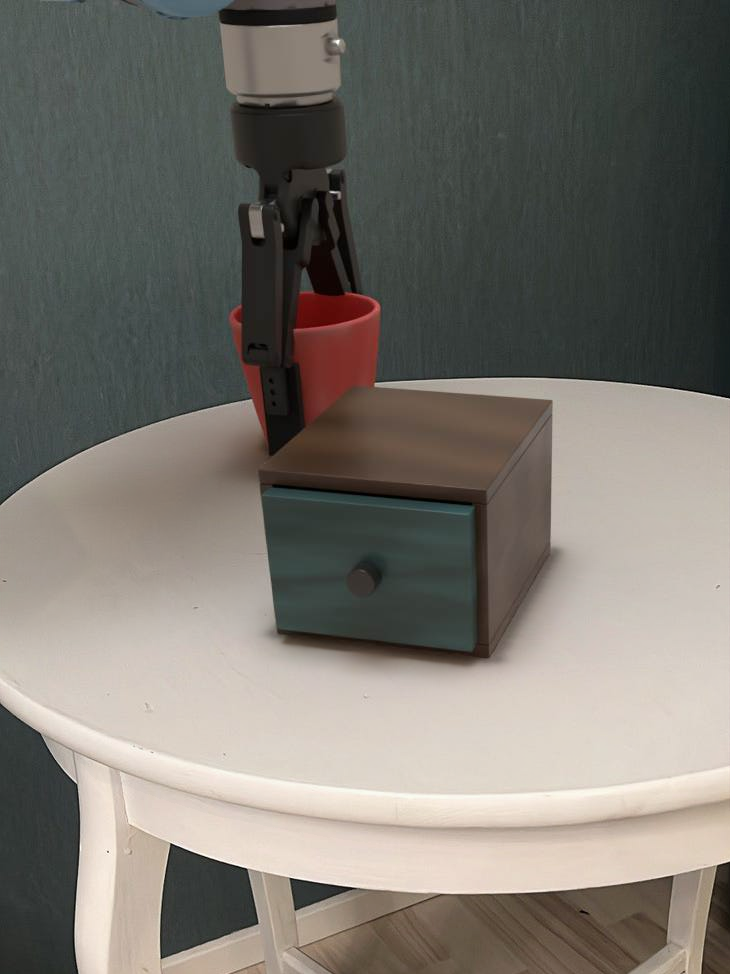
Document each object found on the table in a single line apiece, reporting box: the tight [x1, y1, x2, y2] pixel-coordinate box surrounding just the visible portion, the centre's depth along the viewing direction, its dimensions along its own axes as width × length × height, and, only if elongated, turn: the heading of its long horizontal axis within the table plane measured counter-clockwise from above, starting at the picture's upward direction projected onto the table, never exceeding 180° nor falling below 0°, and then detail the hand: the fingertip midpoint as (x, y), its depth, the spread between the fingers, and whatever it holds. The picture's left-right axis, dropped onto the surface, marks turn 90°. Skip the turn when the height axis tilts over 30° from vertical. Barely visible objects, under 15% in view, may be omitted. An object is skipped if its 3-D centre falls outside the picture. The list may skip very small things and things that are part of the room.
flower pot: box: [229, 290, 381, 446], centre depth 100 cm, size 11×11×10 cm
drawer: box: [260, 486, 478, 652], centre depth 76 cm, size 15×11×8 cm
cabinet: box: [257, 385, 554, 658], centre depth 78 cm, size 15×13×10 cm
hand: (316, 430), depth 102 cm, fingers closed on flower pot, 10 cm apart
